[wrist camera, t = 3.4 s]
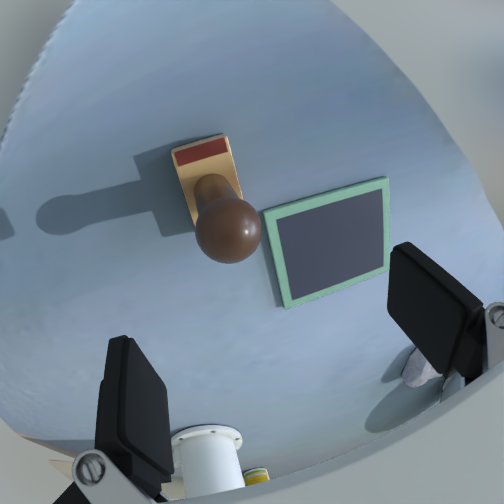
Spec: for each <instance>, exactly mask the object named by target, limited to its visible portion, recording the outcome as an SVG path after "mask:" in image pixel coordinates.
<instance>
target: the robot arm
mask: <svg viewBox="0 0 504 504" xmlns="http://www.w3.org/2000/svg"><path fill="white" fill-rule="evenodd" d="M387 310H388V313H389V314H390V316H391V317H392V318H393V319H394V321H395V322H396V323H397V324H398V325H399V327H400V328H401V329H402V330H403V331H404V332H405V334H406V335H407V336H408V337H409V339H410V340H411V341H412V342H413V343H414V345H415V346H416V347H417V348H418V349H419V351H420V352H421V353H422V354H423V356H424V357H425V358H426V359H427V361H428V362H429V363H430V364H431V366H432V367H433V368H434V369H435V371H436V372H437V373H438V374H443V376H444V377H445V378H446V379H448V378H449V377H451V376H452V375H454V374H455V373H457V372H458V373H459V374H460V375H461V385H460V391H458V392H457V393H455V394H454V395H452V396H451V397H449V398H448V399H446V400H445V401H443V402H441V403H440V404H438V405H437V406H435V407H433V408H432V409H430V410H429V411H427V412H425V413H424V414H422V415H420V416H418V417H417V418H415V419H413V420H411V421H410V422H408V423H406V424H404V425H402V426H401V427H399V428H397V429H395V430H393V431H391V432H389V433H387V434H385V435H383V436H381V437H379V438H377V439H375V440H373V441H371V442H369V443H367V444H365V445H363V446H360V447H358V448H356V449H354V450H351V451H349V452H347V453H344V454H342V455H340V456H337V457H335V458H332V459H330V460H327V461H325V462H322V463H319V464H317V465H314V466H311V467H309V468H306V469H303V470H300V471H297V472H294V473H291V474H288V475H285V476H282V477H278V478H275V479H272V480H268V481H265V482H261V483H257V484H253V485H250V486H246V487H245V484H244V480H243V476H242V472H241V469H240V465H239V461H238V457H237V453H236V451H237V450H238V449H239V448H240V447H241V445H242V442H243V441H242V436H241V434H240V433H239V432H238V431H237V430H235V429H233V428H230V427H227V426H221V425H204V426H196V427H192V428H188V429H185V430H183V431H180V432H178V433H177V434H175V435H174V436H173V437H172V438H171V435H170V424H169V412H168V399H167V389H166V386H165V384H164V382H163V381H162V380H161V378H160V377H159V376H158V374H157V373H156V371H155V370H154V368H153V367H152V366H151V364H150V363H149V361H148V360H147V358H146V357H145V355H144V354H143V352H142V351H141V349H140V348H139V346H138V345H137V343H136V342H135V340H134V339H133V338H128V337H127V336H126V335H122V336H119V337H115V338H111V339H110V340H109V344H108V350H107V357H106V364H105V371H104V379H103V380H102V381H101V384H100V390H99V399H98V409H97V419H96V432H95V449H87V450H84V451H83V452H81V453H80V454H79V455H78V456H77V457H76V458H75V460H74V462H73V465H72V476H73V479H74V482H73V483H72V484H71V485H70V486H69V487H68V488H67V489H66V490H65V491H64V493H62V495H61V496H60V497H59V498H58V499H57V500H56V501H55V502H54V503H53V504H504V303H503V302H494V303H492V304H490V305H489V306H488V307H487V308H486V309H484V308H483V303H482V302H481V301H480V300H479V299H478V298H477V297H476V296H475V295H473V294H472V293H471V292H470V291H469V290H468V289H467V288H465V287H464V286H463V285H462V284H461V283H460V282H459V281H457V280H456V279H455V278H454V277H453V276H451V275H450V274H449V273H448V272H447V271H445V270H444V269H443V268H442V267H441V266H439V265H438V264H437V263H436V262H434V261H433V260H432V259H431V258H429V257H428V256H427V255H426V254H424V253H423V252H422V251H421V250H419V249H418V248H417V247H416V246H414V245H413V244H412V243H410V242H404V243H402V244H399V245H396V246H395V247H394V248H393V251H392V252H391V253H390V268H389V286H388V300H387ZM176 467H180V468H181V469H182V473H183V480H184V487H185V493H186V499H180V500H174V501H171V500H170V499H169V498H167V497H166V496H165V495H164V494H163V493H162V492H161V491H162V489H161V483H168V482H171V474H174V468H176Z"/></svg>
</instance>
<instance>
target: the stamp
mask: <svg viewBox="0 0 504 504" xmlns="http://www.w3.org/2000/svg"><path fill="white" fill-rule="evenodd" d="M171 150H172V151H171V155H172V158H173V162H174V165H175V168H176V171H177V174H178V177H179V181H180V184H181V187H182V190H183V193H184V196H185V199H186V202H187V205H188V208H189V211H190V214H191V217H192V220H193V223H194V226H195V235H196V240H197V243H198V245H199V247H200V248H201V250H202V251H203V252H204V254H206V255H207V256H208V257H209V258H211V259H212V260H214V261H217V262H220V263H226V264H231V263H237V262H240V261H242V260H244V259H246V258H248V257H249V256H250V255H251V254H252V253H253V252H254V251H255V250H256V248H257V247H258V245H259V243H260V240H261V235H262V225H261V220H260V217H259V215H258V213H257V212H256V210H255V209H254V208H253V207H252V206H251V205H250V204H249V203H247V202H246V201H244V200H243V196H242V192H241V188H240V184H239V180H238V177H237V173H236V169H235V165H234V161H233V157H232V153H231V149H230V145H229V142H228V138H227V136H225V135H224V134H223V133H222V134H218V135H215V136H211V137H208V138H204V139H201V140H198V141H194V142H191V143H188V144H185V145H181V146H178V147H175V148H172V149H171Z"/></svg>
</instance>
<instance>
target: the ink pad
mask: <svg viewBox="0 0 504 504" xmlns="http://www.w3.org/2000/svg"><path fill="white" fill-rule="evenodd" d="M263 216H264V220H265V225H266V229H267V234H268V238H269V242H270V247H271V251H272V256H273V260H274V265H275V269H276V274H277V278H278V283H279V287H280V292H281V297H282V301H283V306H284V308H285V310H286V309H289V308H291V307H294V306H297V305H300V304H303V303H305V302H308V301H311V300H314V299H316V298H319V297H322V296H324V295H327V294H330V293H332V292H335V291H338V290H340V289H343V288H346V287H348V286H351V285H353V284H356V283H358V282H361V281H363V280H366V279H368V278H371V277H373V276H376V275H378V274H381V273H383V272H386V271H388V270H389V268H390V198H389V178H388V177H386V176H385V177H381V178H377V179H373V180H370V181H366V182H362V183H358V184H355V185H351V186H348V187H344V188H340V189H337V190H333V191H330V192H326V193H322V194H319V195H315V196H312V197H308V198H305V199H302V200H298V201H295V202H291V203H288V204H284V205H281V206H278V207H274V208H271V209H268V210H264V211H263Z"/></svg>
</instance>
